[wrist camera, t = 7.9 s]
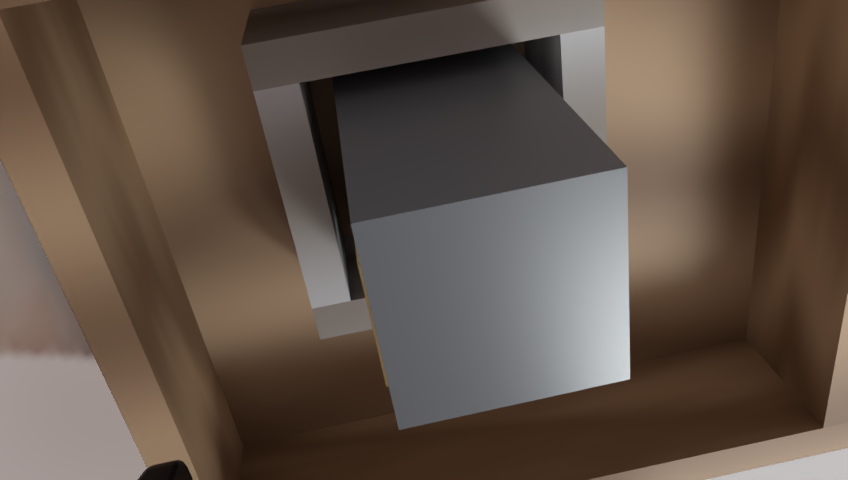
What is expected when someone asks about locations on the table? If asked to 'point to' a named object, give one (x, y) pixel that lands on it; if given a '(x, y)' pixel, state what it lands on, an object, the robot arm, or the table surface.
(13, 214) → the table surface
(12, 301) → the table surface
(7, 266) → the table surface
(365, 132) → the grey rectangular block
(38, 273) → the table surface
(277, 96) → the walled box
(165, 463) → the robot arm
